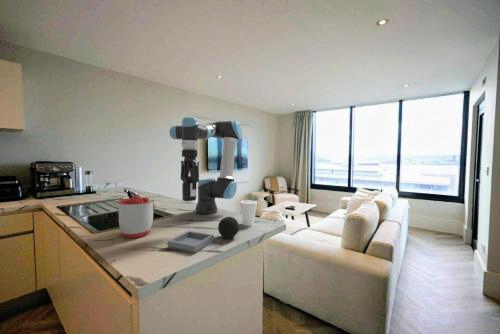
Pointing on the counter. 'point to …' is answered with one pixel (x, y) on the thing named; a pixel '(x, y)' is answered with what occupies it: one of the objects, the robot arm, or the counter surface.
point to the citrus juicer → (135, 216)
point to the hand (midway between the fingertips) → (189, 195)
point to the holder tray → (191, 241)
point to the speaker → (228, 227)
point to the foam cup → (248, 212)
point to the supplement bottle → (187, 190)
